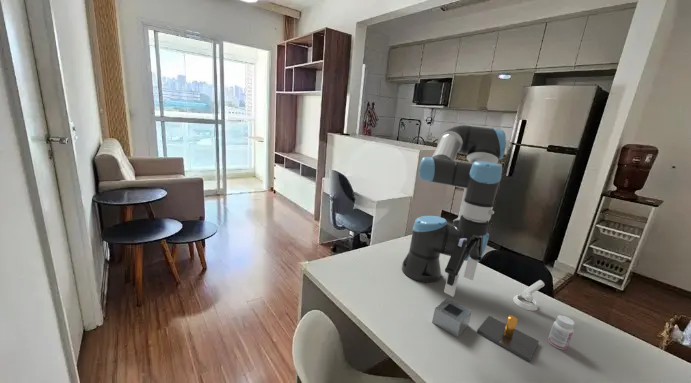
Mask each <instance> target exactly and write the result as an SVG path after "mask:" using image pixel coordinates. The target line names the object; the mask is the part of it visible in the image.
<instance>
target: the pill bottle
mask: <svg viewBox="0 0 691 383" xmlns="http://www.w3.org/2000/svg"><path fill="white" fill-rule="evenodd" d="M556 317H557V318H556V319H555V321H553V324H552V326H551V328H550V332H549V335H548V338H547V340H548V342H549V343H550V345H552V346H553V347H554V348H557V349H559V350H564V351H565V350H567V349H568V347H569V344H570V342H571V339H572V336H573V334H574V326H575V321H574V320H572V318H569V317H568V316H565V315H562V314H560V315H557V316H556Z"/></svg>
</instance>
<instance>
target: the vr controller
mask: <svg viewBox="0 0 691 383" xmlns="http://www.w3.org/2000/svg"><path fill="white" fill-rule="evenodd" d="M544 286H545V282H544V281H543V280H541V279H539V280H537V281H536V282H534V283H533V284H531V285H530V286H528V287H526V288H525V289H524V290H523V291H522V292H521V294H516V295H515V296H514V297H513V298H512V301H513V302H514V303H515V304H516V305H517V306H518V307H519V308H523V310H527V311H532V312H533V311H537V310H538V304H537V301H536V300H535V299H534V296H533V295H532V294H534V293H536V292H537V291H539V290H540V289H541V288H543V287H544ZM519 298H521V299H524V300H525V301H527V302H528V303H530V302H531V303H532V304H528V303H525V302H523V301H522V300H520V299H519Z"/></svg>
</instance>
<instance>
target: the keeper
mask: <svg viewBox="0 0 691 383" xmlns="http://www.w3.org/2000/svg"><path fill="white" fill-rule="evenodd" d="M517 324H518V317H516V316H515V315H511V314H510V315H508V317H507V320H506V323H505V322H503V321H501V320H499V319H497V318H495V317H493V316H492V315H488V316H487V317H486V318H485V320H484V321H483V322H482V324H481V325H480V326H479V327H478V328H477V329H476V333H477V334H479V335H480V336H483V337H484V338H486V339H488V340H490V341H491V342H493V343H494V344H496V345H498V346H500V347H502V348H503V349H506V350H507V351H509V352H511V353H513V355H516V356H517V357H520V358H521V359H523V360H525V361H526V362H527V363H530V362H531V359H532V358H533V355H534V353H535V351H536V349H537V348H538V345H539V342H540V341H539V340H537V339H536V338H534V337H532V336H530V335H528V334H526V333H524V332H522V331H520V330H518V329H516V327H517Z"/></svg>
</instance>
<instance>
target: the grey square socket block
mask: <svg viewBox="0 0 691 383" xmlns="http://www.w3.org/2000/svg"><path fill="white" fill-rule="evenodd" d="M471 316H472V310H470V309H469V308H466V307H465V306H462V305H460V304H458V303H457V302H455V301H453V300H452V299H449V298H446V299H444V300H443V301H442V302H441V303H440V304H439V305H437V306H436V307H435V308H434V312H433V316H432V322H431V323H432V324H434V325H436V326H437V327H439V328H441V329H442V330H444V331H445V332H447V333H449V334H451V335H452V336H454V337H455V338H458V337H459V336H460V335H461V334H462V333H463V331H465V330H466V328H467V327H468V326H469V323H470V320H471Z"/></svg>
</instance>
